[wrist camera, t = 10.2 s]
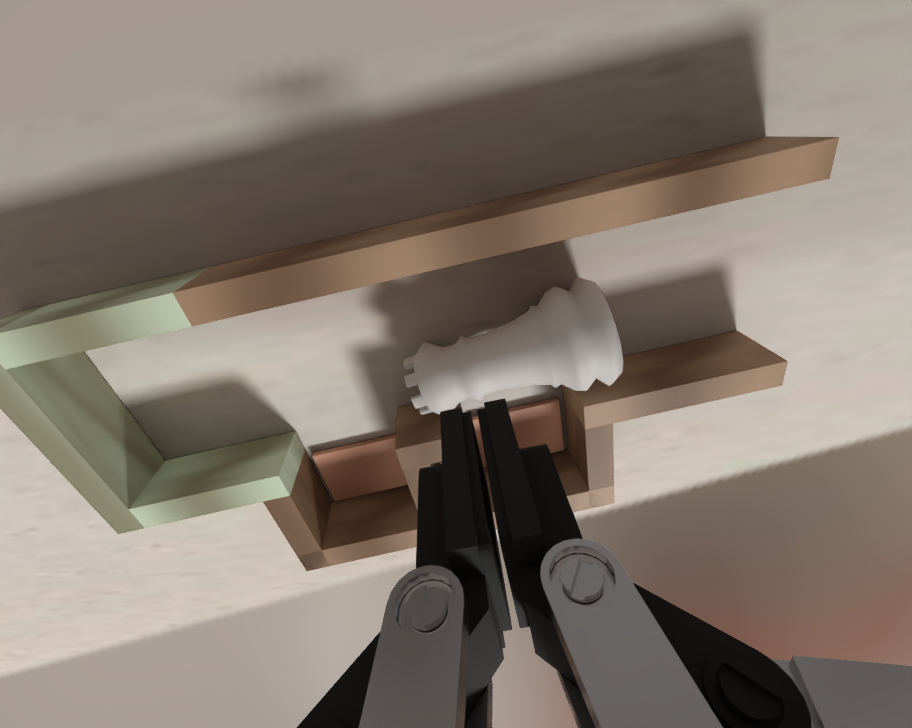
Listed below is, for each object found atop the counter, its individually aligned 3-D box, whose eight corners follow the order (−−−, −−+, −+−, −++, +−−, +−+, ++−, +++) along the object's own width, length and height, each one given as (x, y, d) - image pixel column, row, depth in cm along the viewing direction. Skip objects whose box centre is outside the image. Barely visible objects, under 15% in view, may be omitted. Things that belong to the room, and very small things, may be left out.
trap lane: (766, 136, 16) (838, 137, 13) (722, 431, 23) (762, 470, 20) (18, 311, 16) (-58, 346, 13) (205, 546, 23) (179, 599, 20)
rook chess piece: (579, 283, 18) (413, 337, 20) (598, 260, 14) (382, 332, 15) (609, 379, 18) (440, 427, 20) (637, 387, 14) (416, 448, 15)
